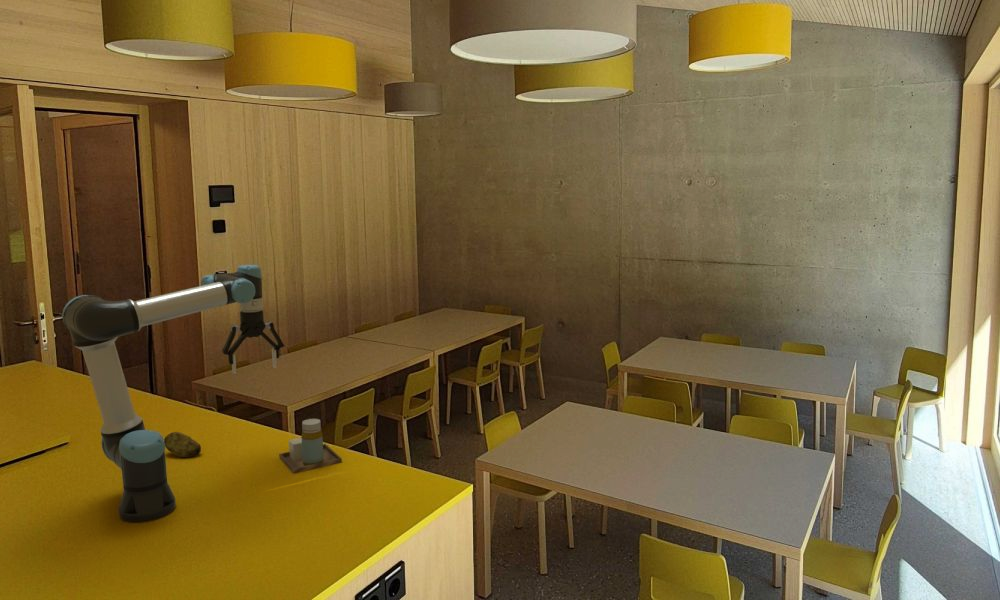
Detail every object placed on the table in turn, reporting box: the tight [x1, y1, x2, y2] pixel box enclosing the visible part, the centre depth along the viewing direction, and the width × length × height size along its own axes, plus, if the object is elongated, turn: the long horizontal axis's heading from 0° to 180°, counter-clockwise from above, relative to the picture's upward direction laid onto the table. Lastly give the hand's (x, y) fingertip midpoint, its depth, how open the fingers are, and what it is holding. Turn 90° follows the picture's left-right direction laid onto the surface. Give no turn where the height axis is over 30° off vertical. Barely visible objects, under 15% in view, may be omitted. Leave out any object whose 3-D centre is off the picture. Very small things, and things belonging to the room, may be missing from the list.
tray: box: [278, 443, 343, 475], centre depth 242 cm, size 17×16×2 cm
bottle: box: [301, 418, 324, 466], centre depth 238 cm, size 7×7×15 cm
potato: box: [163, 431, 202, 458], centre depth 247 cm, size 8×13×8 cm, turn 59°
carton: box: [288, 437, 303, 461], centre depth 246 cm, size 10×5×6 cm, turn 124°
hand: (254, 370), depth 239 cm, fingers open, 13 cm apart
